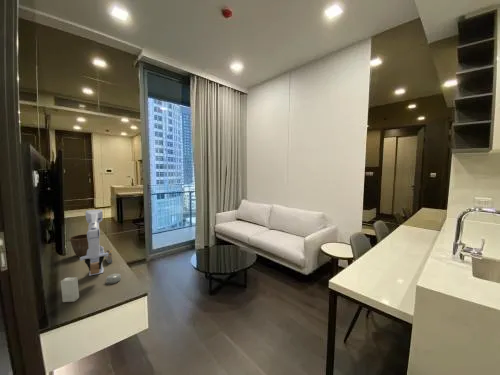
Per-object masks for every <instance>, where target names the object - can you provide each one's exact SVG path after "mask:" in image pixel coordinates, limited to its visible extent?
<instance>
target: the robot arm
mask: <svg viewBox="0 0 500 375" xmlns="http://www.w3.org/2000/svg"><path fill="white" fill-rule="evenodd" d="M103 215H104V214H103V209H102V208H100V209H89V210H88V209H87V210H85V219H86V223H87V224H88V226H87V231H86V234H87V239H88V247H89V249H88V250H87V255H85V256H81V257H79V262H81V261H84V263H85V264H86V266H87V267H88V271H89V272H88V273H89V274H88V276H89V277H90V276H93V275H94V276H95V275H100V274H103V273H104V266H103V262H104V260H105V258H106V257H107V256H108V253H105V250H104V248H105V247H104V246H102V245H100V243H101V242H100V238H101V230H100V223H101V222H103ZM105 256H106V257H105ZM95 262H99V269H100V272H99V273H96V274H90V264H91V263H95Z"/></svg>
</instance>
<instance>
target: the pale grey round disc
mask: <svg viewBox="0 0 500 375" xmlns="http://www.w3.org/2000/svg"><path fill="white" fill-rule="evenodd" d="M121 276H122V274H120V273H112V274H108V275H107V276H105V277H106V278H105V281H106V282H105V283H106V284H110V285H111V284H116V283H118V282H120V281H121V280H122V277H121Z"/></svg>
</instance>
